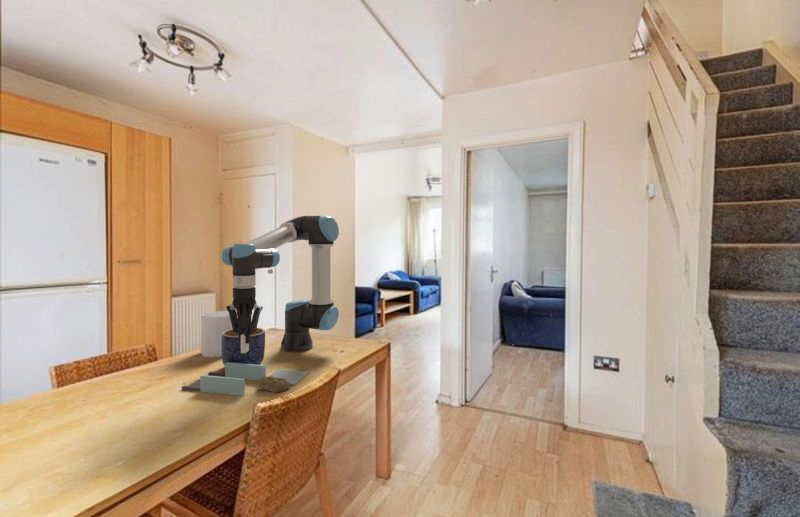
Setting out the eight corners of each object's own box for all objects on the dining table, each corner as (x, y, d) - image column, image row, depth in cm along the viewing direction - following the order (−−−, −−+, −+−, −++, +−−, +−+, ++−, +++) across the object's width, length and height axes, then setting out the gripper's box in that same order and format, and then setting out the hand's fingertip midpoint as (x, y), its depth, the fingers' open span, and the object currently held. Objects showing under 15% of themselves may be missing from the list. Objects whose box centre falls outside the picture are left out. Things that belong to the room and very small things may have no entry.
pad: (278, 370, 150) (278, 369, 150) (308, 373, 148) (308, 371, 148) (261, 382, 137) (261, 381, 137) (294, 385, 135) (294, 384, 135)
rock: (282, 395, 128) (282, 382, 127) (253, 391, 130) (253, 379, 129) (292, 386, 135) (293, 374, 135) (264, 383, 137) (265, 371, 137)
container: (201, 358, 162) (202, 318, 161) (200, 350, 174) (200, 312, 174) (237, 354, 169) (238, 315, 169) (234, 346, 182) (234, 310, 181)
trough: (210, 374, 144) (210, 360, 143) (265, 379, 140) (265, 365, 140) (181, 389, 129) (181, 374, 129) (243, 395, 125) (243, 379, 125)
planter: (228, 377, 141) (228, 339, 141) (215, 366, 154) (216, 330, 153) (271, 368, 152) (271, 333, 151) (256, 358, 165) (256, 325, 164)
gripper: (220, 287, 129) (221, 354, 131) (255, 289, 127) (256, 356, 129) (233, 284, 136) (234, 347, 138) (266, 286, 135) (267, 349, 136)
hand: (244, 351), depth 133 cm, fingers closed
